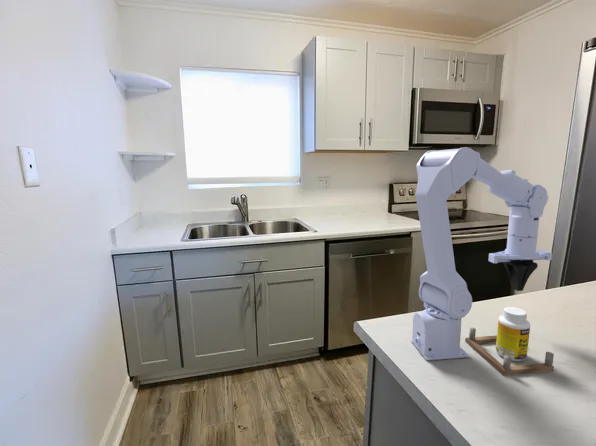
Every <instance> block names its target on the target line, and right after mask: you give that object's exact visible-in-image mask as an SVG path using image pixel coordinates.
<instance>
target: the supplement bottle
mask: <svg viewBox="0 0 596 446" xmlns="http://www.w3.org/2000/svg"><path fill="white" fill-rule="evenodd" d="M527 314H528V313H527V312H526V310H524V309H522V308H519V307H512V306H506V307H504V309H503V313H502V314H501V315H500V316H498V321H497V332H496V336H497V341H496V343H495V351H496V353H497V354H498V355H499V356H500V357H502V358H503V359H504V355H508V356H510V357H511V362H523V361H525V360H526V359H527V356H528V350H529V341H530V331H531V323H530V322H529V320H527V318H528V317H527Z"/></svg>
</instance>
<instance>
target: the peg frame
mask: <svg viewBox="0 0 596 446" xmlns="http://www.w3.org/2000/svg"><path fill="white" fill-rule="evenodd" d="M496 341H497V335H488V336H487V335H484V336H476V328H475V327H469V335H468V337H465V339H464V342H465V343H466V344H467V345H468V346H469V347H470V348H472V349H473V351H475V352H476V353H477V354H478V355H480V356H481V358H483V359H484V360H485V361H486V362H487V363H488V364H490V366H492V367H493V368H494V369H495V370H496V371H498V372H499V374H501V375H502V376H510V375H522V374H525V375H526V374H535V373H536V374H538V373H546V372H547V373H548V372H554V369H555V366H554V357H555V356H554V355H555V354H554V353H553V352H550V351H545V359H544V362H543V363H532V364H530V363H529V364H518V365H512V361H511V357H510V356H508V355H504V358H503V362H502V363H503V364H502V363H501V362H500V361H499V360H498V359H497V358H495V357H494V356H493V355H492V354H490V352H488V351H487V350H486V349H485V348H483V347H482V346H481V344H494V343H495V344H496Z"/></svg>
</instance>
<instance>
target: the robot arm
mask: <svg viewBox="0 0 596 446" xmlns="http://www.w3.org/2000/svg"><path fill="white" fill-rule="evenodd" d="M415 167H416V173H417V182H416V183H417V185H416V188H415V189H416V190H415V200H416V206H417V207H416V208H417V213H418V219H419V225H420V232H421V238H422V245H423V252H424V257H425V263H426V271H425V272H423V273H422V274H421V275H420V276H419V282H420V283H419V289H418V297H419V299H420V300H421V301H422V302H423V307H424V308H425V309H423V310H422V311H419V312H416V313H414V315H413V318H412V338H411V339H410V341H411V343H412V344H413V345H414V346H415V348H416V349H417V351H418V352H419V353H420V354H421V355H422V357H423V358H424V359H425V360H426V361H436V360H446V359H447V360H450V359H461V358H469V353H468V352H466V351H465V350H464V349H463V348H462V347H461V336H462V335H461V332H462V318H465V317H466V316H467V315H468V314H469V313H470V311H471V309H472V306H473V297H472V294H471V293H470V291H469V289H468V283H467V282H466V281H465V279H464V278H462V276H461V275H460V274H459V273H458V272H457V270H456V263H455V256H454V248H453V240H452V234H451V233H452V231H451V225H450V219H449V218H450V217H449V210H448V201H447V200H448V199H449V197H450V196H452V195H453V194H455V193H456V192H457V191H459V190H460V189H461V187H463V186H464V185H465V184H466V183H467V182H468V181H470V180H471V179H473V180H476V181H479V182H481V183H483V185H484V184H485V185H487V189H488V191H489V192H490V193H491V194H492V195H494V196H496V197H498V198H500V199H501V200H503V201H504V203H505V206H506V207H508V208H509V217H508V226H507V240H506V248H505V249H504V250H502V251H498V252H491V253H488V262H490V263H491V264H498V263H502V264H503V266H504V268H505V269H506V272H507V274H508V277H509V282H510V286H511V289H513V290H515V291H517V292H523V291H524V288H525V287H526V284H527V282H528V279H529V278H530V277H531V275H532V274H533V273H534V272H535V270H537V269H538V263H537V262H535V261H543V260H544V261H545V260H546V261H552V260H553V252H552V251H549V250H537V243H538V235H539V226H540V224H539V223H540V218H541V217H543V215H544V210H545V207H546V205H547V203H548V202H549V201H548V200H549V196H548V191H547V189H546V187H544V186H543V185H541V184H532V183H531V182H529V179H527V178H523V177H520V176H519V175H518V174H516V171H515V170H514V169H505V170H501V171H500V170H498V169H497V168H495V166H494V167H493V166H492V165H491V164H490V163H488V162H487V161H486V160H484V159H483V158H481V154H480V152H479V151H475V150H473V149H472V148H471V147H468V146H467V147H466V146H465V147H460V148H451V149H441V150H440V149H439V150H436V149H434V150H433V149H432V150H428V151H426V152H425V153H424V154H423V155H422V156H421V158H420V159H419V160H418V161H417V163H416V165H415Z"/></svg>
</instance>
